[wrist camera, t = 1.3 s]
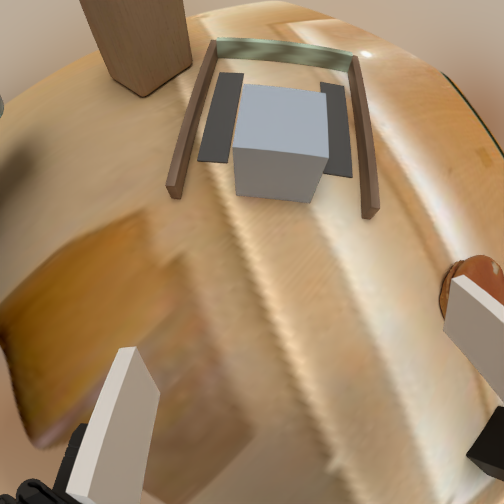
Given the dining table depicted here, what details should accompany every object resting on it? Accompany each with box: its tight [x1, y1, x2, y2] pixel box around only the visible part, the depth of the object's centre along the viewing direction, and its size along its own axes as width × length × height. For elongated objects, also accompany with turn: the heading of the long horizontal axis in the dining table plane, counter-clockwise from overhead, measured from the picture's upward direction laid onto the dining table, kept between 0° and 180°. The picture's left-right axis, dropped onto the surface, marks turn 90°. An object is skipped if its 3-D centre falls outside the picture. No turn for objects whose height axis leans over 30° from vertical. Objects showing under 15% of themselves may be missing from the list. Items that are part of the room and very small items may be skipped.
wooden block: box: [79, 0, 192, 96], centre depth 29 cm, size 10×10×20 cm
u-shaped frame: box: [165, 38, 380, 219], centre depth 34 cm, size 22×26×4 cm
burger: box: [440, 255, 504, 318], centre depth 28 cm, size 10×9×5 cm
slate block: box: [233, 84, 329, 203], centre depth 29 cm, size 8×8×9 cm
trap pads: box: [197, 72, 353, 178], centre depth 36 cm, size 18×16×1 cm
